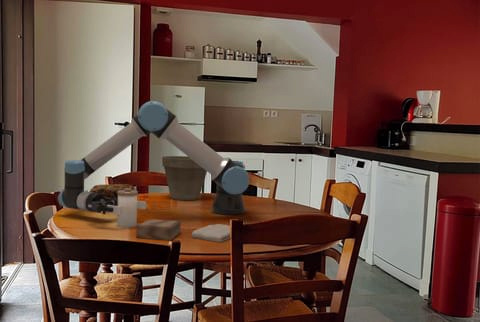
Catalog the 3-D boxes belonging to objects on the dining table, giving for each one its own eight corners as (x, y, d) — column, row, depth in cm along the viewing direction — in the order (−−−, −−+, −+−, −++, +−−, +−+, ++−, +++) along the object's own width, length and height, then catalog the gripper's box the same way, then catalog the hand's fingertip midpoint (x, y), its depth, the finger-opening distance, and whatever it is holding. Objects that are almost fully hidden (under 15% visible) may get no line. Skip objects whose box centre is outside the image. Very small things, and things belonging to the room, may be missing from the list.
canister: (139, 224, 181) (140, 188, 180) (132, 228, 174) (133, 190, 173) (121, 222, 182) (122, 186, 181) (113, 226, 175) (114, 189, 174)
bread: (134, 204, 224) (135, 183, 223) (128, 208, 214) (128, 186, 213) (96, 202, 225) (96, 181, 224) (87, 206, 214) (88, 184, 214)
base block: (180, 232, 170) (180, 220, 170) (170, 240, 158) (171, 227, 158) (148, 230, 171) (148, 218, 171) (136, 237, 160) (136, 225, 159)
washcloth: (244, 234, 173) (245, 226, 173) (220, 244, 157) (221, 235, 157) (216, 229, 179) (217, 221, 178) (190, 239, 163) (191, 230, 163)
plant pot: (185, 193, 265) (187, 154, 263) (218, 199, 249) (220, 158, 248) (151, 197, 245) (152, 156, 244) (184, 204, 230) (185, 159, 228)
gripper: (66, 196, 174) (110, 202, 165) (114, 189, 196) (155, 194, 187) (66, 216, 175) (109, 223, 165) (114, 207, 197) (154, 213, 187)
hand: (133, 208), depth 176 cm, fingers open, 13 cm apart
